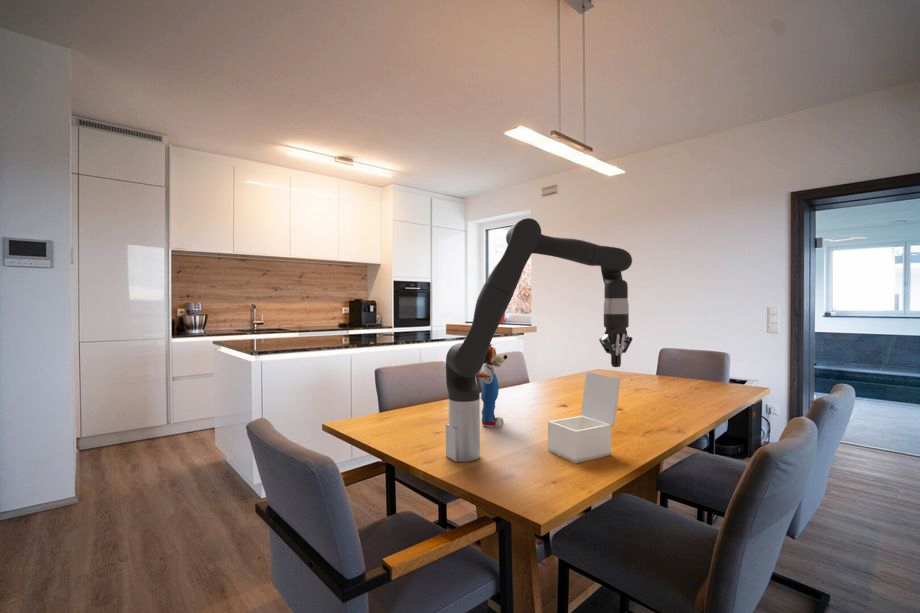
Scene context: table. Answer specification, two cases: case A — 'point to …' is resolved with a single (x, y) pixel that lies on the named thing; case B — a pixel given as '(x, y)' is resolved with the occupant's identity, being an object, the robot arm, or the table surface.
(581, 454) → the box
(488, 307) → the robot arm
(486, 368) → the toy
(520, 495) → the table surface
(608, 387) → the lid
